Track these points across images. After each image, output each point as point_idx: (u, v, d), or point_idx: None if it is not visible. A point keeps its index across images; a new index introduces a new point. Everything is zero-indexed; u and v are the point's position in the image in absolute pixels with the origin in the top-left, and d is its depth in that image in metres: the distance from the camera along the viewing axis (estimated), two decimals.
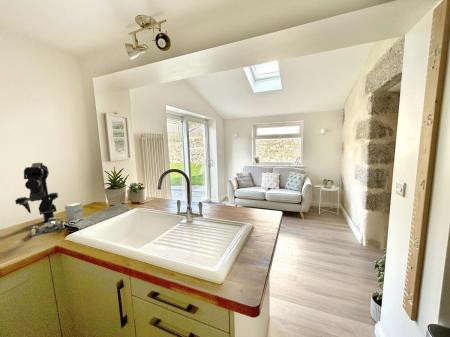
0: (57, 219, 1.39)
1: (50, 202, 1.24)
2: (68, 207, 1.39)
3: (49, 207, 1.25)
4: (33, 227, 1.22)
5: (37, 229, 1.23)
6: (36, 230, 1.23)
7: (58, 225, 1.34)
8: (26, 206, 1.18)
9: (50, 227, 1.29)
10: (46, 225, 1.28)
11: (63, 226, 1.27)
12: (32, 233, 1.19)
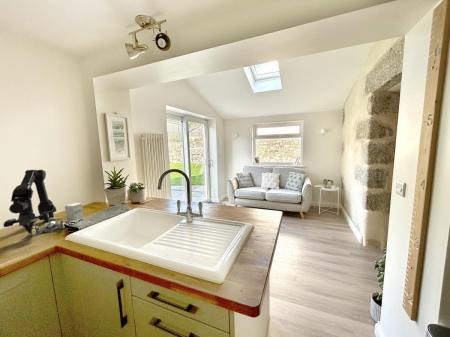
0: (57, 219, 1.39)
1: (30, 225, 1.18)
2: (68, 207, 1.39)
3: (29, 231, 1.18)
4: (33, 227, 1.22)
5: (37, 229, 1.24)
6: (36, 230, 1.23)
7: (58, 225, 1.34)
8: (26, 226, 1.17)
9: (50, 227, 1.29)
10: (46, 225, 1.28)
11: (63, 226, 1.27)
12: (33, 233, 1.19)
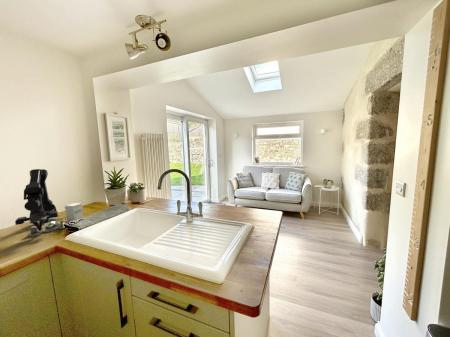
0: (57, 219, 1.39)
1: (40, 223, 1.20)
2: (68, 207, 1.39)
3: (39, 228, 1.21)
4: (35, 226, 1.23)
5: None
6: None
7: (58, 225, 1.34)
8: (36, 224, 1.19)
9: (50, 227, 1.29)
10: (46, 225, 1.28)
11: (63, 226, 1.27)
12: (43, 229, 1.23)
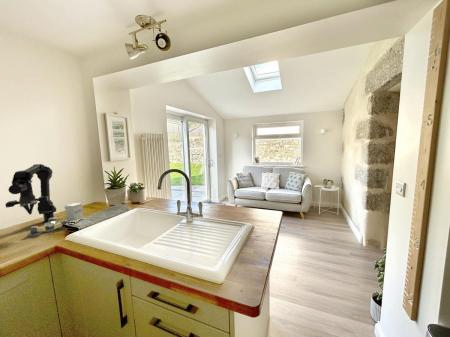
0: (57, 219, 1.39)
1: (31, 207, 1.25)
2: (68, 207, 1.39)
3: (30, 212, 1.26)
4: (35, 226, 1.23)
5: None
6: None
7: None
8: (26, 208, 1.24)
9: (50, 227, 1.29)
10: (46, 225, 1.28)
11: (54, 227, 1.27)
12: (44, 229, 1.24)
